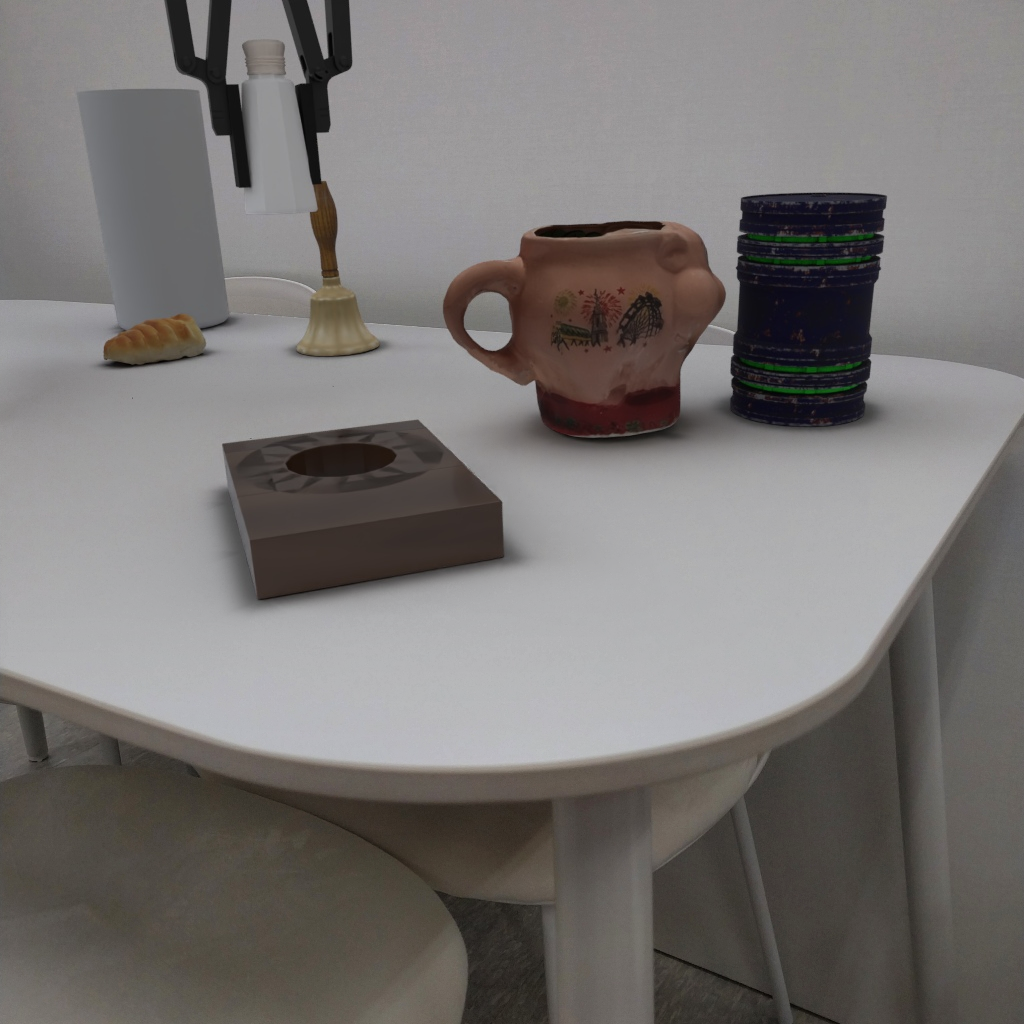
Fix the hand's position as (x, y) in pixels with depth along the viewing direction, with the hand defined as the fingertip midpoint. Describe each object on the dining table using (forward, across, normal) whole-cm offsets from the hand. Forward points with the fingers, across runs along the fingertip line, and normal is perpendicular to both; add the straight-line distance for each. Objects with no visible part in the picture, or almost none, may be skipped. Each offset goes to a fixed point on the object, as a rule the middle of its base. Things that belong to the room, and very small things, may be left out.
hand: (278, 184), depth 68 cm
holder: (+17, -1, -24) cm, 29 cm away
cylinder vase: (+17, -7, +47) cm, 51 cm away
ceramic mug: (+17, +18, -13) cm, 28 cm away
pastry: (+17, -10, +28) cm, 34 cm away
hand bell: (+17, +7, +24) cm, 30 cm away
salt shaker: (+2, 0, 0) cm, 2 cm away
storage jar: (+17, +34, -15) cm, 41 cm away
